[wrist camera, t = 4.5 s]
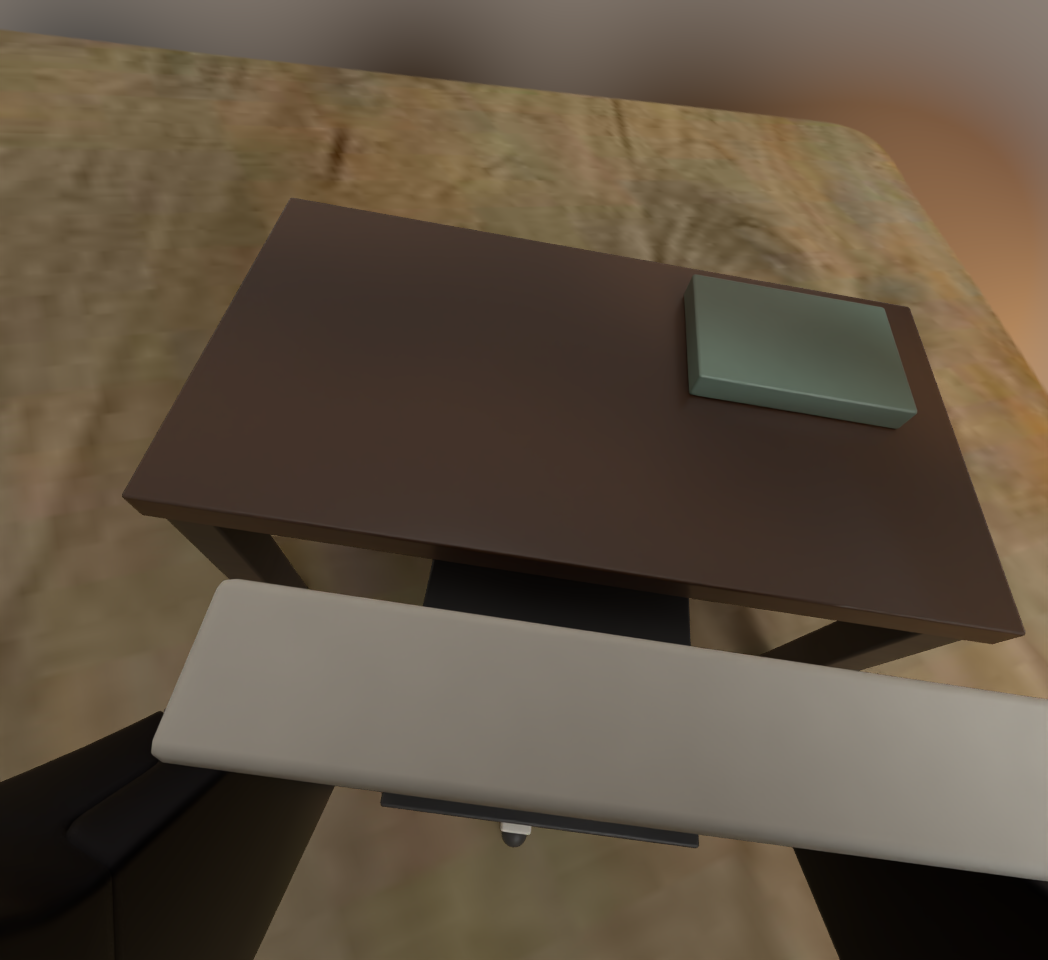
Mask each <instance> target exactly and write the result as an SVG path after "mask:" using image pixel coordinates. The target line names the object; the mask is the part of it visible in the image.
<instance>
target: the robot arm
mask: <svg viewBox="0 0 1048 960" xmlns="http://www.w3.org/2000/svg"><path fill="white" fill-rule="evenodd" d="M165 710H166V709H165ZM165 710H164V712H165ZM163 715H164V713H163V712H162V711H159V712H156V713H154V714H152V715H150V716H148V717H146V718H144V719H142V720H140V721H138V722H136V723H134V724H132V725H130V726H128V727H126V728H123V729H121V730H119V731H117V732H115V733H113V734H111V735H108V736H106V737H104V738H102V739H100V740H98V741H96V742H93V743H91V744H89V745H87V746H85V747H83V748H80V749H78V750H76V751H73V752H71V753H69V754H66V755H64V756H62V757H59V758H57V759H55V760H52V761H50V762H48V763H45V764H43V765H41V766H38V767H36V768H34V769H31V770H29V771H27V772H24V773H22V774H19V775H17V776H14V777H12V778H10V779H7V780H5V781H2V782H0V960H253V959H254V957H255V955H256V953H257V951H258V949H259V947H260V944H261V942H262V940H263V938H264V936H265V934H266V932H267V929H268V927H269V925H270V923H271V921H272V919H273V917H274V915H275V912H276V910H277V908H278V906H279V904H280V902H281V900H282V897H283V895H284V893H285V891H286V889H287V887H288V885H289V882H290V880H291V878H292V876H293V874H294V872H295V870H296V868H297V865H298V863H299V861H300V859H301V857H302V855H303V853H304V850H305V848H306V846H307V844H308V842H309V840H310V838H311V836H312V833H313V831H314V829H315V827H316V825H317V823H318V821H319V818H320V816H321V814H322V812H323V810H324V808H325V806H326V804H327V801H328V799H329V797H330V795H331V793H332V791H333V789H334V785H327V784H319V783H312V782H304V781H297V780H289V779H282V778H274V777H267V776H260V775H252V774H245V773H237V772H230V771H222V770H215V769H207V768H200V767H193V766H185V765H178V764H170V763H163V762H161V761H160V760H159V759H157V758H156V757H155V756H153V755H152V753H151V749H152V741H153V738H154V736H155V733H156V731H157V729H158V726H159V724H160V722H161V719H162V717H163ZM793 849H794V852H795V854H796V856H797V859H798V861H799V863H800V866H801V868H802V871H803V873H804V875H805V878H806V880H807V883H808V885H809V887H810V890H811V892H812V895H813V897H814V899H815V902H816V904H817V906H818V909H819V911H820V914H821V916H822V918H823V921H824V923H825V926H826V928H827V930H828V933H829V935H830V937H831V940H832V942H833V945H834V947H835V949H836V952H837V954H838V957H839V959H840V960H1048V881H1041V880H1033V879H1026V878H1019V877H1011V876H1004V875H996V874H989V873H981V872H974V871H966V870H959V869H952V868H944V867H937V866H929V865H922V864H914V863H907V862H899V861H892V860H885V859H877V858H870V857H862V856H855V855H847V854H840V853H833V852H825V851H818V850H810V849H803V848H795V847H793Z"/></svg>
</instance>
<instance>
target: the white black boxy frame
mask: <svg viewBox="0 0 1048 960" xmlns="http://www.w3.org/2000/svg"><path fill="white" fill-rule="evenodd" d="M151 753H152V755H153V756H155V757H156V758H157V759H159V760H160V761H161V762H163V763H170V764H178V765H185V766H193V767H200V768H207V769H215V770H222V771H230V772H237V773H245V774H252V775H260V776H267V777H274V778H282V779H289V780H297V781H304V782H312V783H319V784H327V785H334V786H341V787H349V788H356V789H364V790H371V791H379V792H383V793H382V797H381V802H380V803H381V806H383V807H391V808H398V809H406V810H413V811H421V812H428V813H436V814H443V815H451V816H458V817H466V818H473V819H481V820H488V821H496V822H501V825H500V829H501V831H502V838H503V840H504V842H505V843H506V844H507V845H508V846H510V847H518V846H520V845H521V844H523V842H524V841H525V839H526V835H529V834H530V833H531V826H533V827H541V828H548V829H556V830H563V831H571V832H578V833H586V834H593V835H601V836H608V837H616V838H623V839H631V840H638V841H646V842H653V843H661V844H668V845H676V846H683V847H691V848H698V846H699V838H698V834H699V835H706V836H713V837H721V838H728V839H736V840H743V841H751V842H758V843H766V844H773V845H780V846H788V847H795V848H803V849H810V850H818V851H825V852H833V853H840V854H847V855H855V856H862V857H870V858H877V859H885V860H892V861H899V862H907V863H914V864H922V865H929V866H937V867H944V868H952V869H959V870H966V871H974V872H981V873H989V874H996V875H1004V876H1011V877H1019V878H1026V879H1033V880H1041V881H1048V699H1042V698H1036V697H1029V696H1022V695H1016V694H1009V693H1002V692H995V691H989V690H982V689H975V688H968V687H962V686H955V685H948V684H942V683H935V682H928V681H921V680H915V679H908V678H901V677H894V676H888V675H881V674H874V673H868V672H861V671H854V670H847V669H841V668H834V667H827V666H821V665H814V664H807V663H800V662H794V661H787V660H780V659H773V658H767V657H760V656H753V655H747V654H740V653H733V652H726V651H720V650H713V649H706V648H699V647H693V646H691V642H690V617H689V598H685V597H679V596H672V595H666V594H659V593H653V592H646V591H639V590H633V589H626V588H620V587H613V586H607V585H600V584H593V583H587V582H580V581H574V580H567V579H560V578H554V577H547V576H541V575H534V574H528V573H521V572H514V571H508V570H501V569H495V568H488V567H482V566H475V565H468V564H462V563H455V562H449V561H442V560H436V559H433V561H432V566H431V571H430V575H429V580H428V584H427V589H426V594H425V598H424V603H423V606H417V605H410V604H404V603H397V602H390V601H383V600H377V599H370V598H363V597H357V596H350V595H343V594H336V593H330V592H323V591H316V590H309V589H303V588H296V587H289V586H283V585H276V584H269V583H262V582H256V581H249V580H242V579H231V580H223V581H222V583H221V584H220V585H219V586H218V587H217V589H216V591H215V594H214V596H213V599H212V601H211V603H210V606H209V608H208V610H207V613H206V615H205V617H204V620H203V622H202V625H201V627H200V629H199V632H198V634H197V636H196V639H195V641H194V644H193V646H192V648H191V651H190V653H189V655H188V658H187V660H186V662H185V665H184V667H183V670H182V672H181V674H180V677H179V679H178V681H177V684H176V686H175V689H174V691H173V693H172V696H171V698H170V700H169V703H168V705H167V707H166V710H165V712H164V715H163V717H162V719H161V722H160V724H159V726H158V729H157V731H156V733H155V736H154V738H153V741H152V749H151Z"/></svg>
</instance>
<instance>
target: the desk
mask: <svg viewBox="0 0 1048 960" xmlns="http://www.w3.org/2000/svg"><path fill="white" fill-rule="evenodd" d="M122 497H123V498H124V499H125V500H126V501H127V502H128V503H129V504H131V505H132V506H133V507H134V508H135V509H136V510H137V511H138V512H139V513H141V514H142V515H146V516H153V517H159V518H166V519H167V520H168V521H169V522H170V523H171V524H172V525H173V526H174V527H175V528H177V529H178V530H179V531H180V532H181V533H182V534H183V535H184V536H185V537H186V538H187V539H188V540H189V541H190V542H191V543H192V544H193V545H194V546H195V547H196V548H197V549H198V550H199V551H200V552H202V553H203V554H204V555H205V556H206V557H207V558H208V559H209V560H210V561H211V562H212V563H213V564H214V565H215V566H216V567H217V568H218V569H219V570H220V571H221V572H222V573H223V574H224V575H225V576H226V577H228V578H229V579H230V580H231V579H242V580H249V581H256V582H262V583H269V584H276V585H283V586H289V587H296V588H303V589H308V588H307V586H306V585H305V583H304V582H303V581H302V579H301V578H300V576H299V575H298V573H297V572H296V571H295V569H294V568H293V566H292V565H291V564H290V562H289V561H288V559H287V558H286V556H285V555H284V554H283V552H282V551H281V549H280V548H279V546H278V545H277V544H276V542H275V541H274V539H273V538H272V537H271V535H278V536H284V537H291V538H297V539H304V540H311V541H317V542H324V543H330V544H337V545H343V546H350V547H357V548H363V549H370V550H376V551H383V552H389V553H396V554H403V555H409V556H416V557H422V558H429V559H436V560H442V561H449V562H455V563H462V564H468V565H475V566H482V567H488V568H495V569H501V570H508V571H514V572H521V573H528V574H534V575H541V576H547V577H554V578H560V579H567V580H574V581H580V582H587V583H593V584H600V585H607V586H613V587H620V588H626V589H633V590H639V591H646V592H653V593H659V594H666V595H672V596H679V597H685V598H692V599H699V600H705V601H712V602H718V603H725V604H732V605H738V606H745V607H751V608H758V609H764V610H771V611H778V612H784V613H791V614H797V615H804V616H810V617H817V618H824V619H830V620H837V621H836V622H833V623H831V624H829V625H827V626H824V627H822V628H820V629H818V630H816V631H813V632H811V633H809V634H807V635H804V636H802V637H800V638H798V639H795V640H793V641H791V642H789V643H786V644H784V645H782V646H780V647H777V648H775V649H773V650H771V651H769V652H766V653H764V654H762V655H760V657H767V658H773V659H780V660H787V661H794V662H800V663H807V664H814V665H821V666H827V667H834V668H841V669H847V670H854V671H860V670H863V669H866V668H870V667H873V666H876V665H880V664H883V663H886V662H890V661H893V660H896V659H900V658H903V657H906V656H910V655H913V654H916V653H920V652H923V651H926V650H930V649H933V648H936V647H940V646H943V645H946V644H950V643H953V642H956V641H960V640H968V641H975V642H981V643H988V644H995V643H999V642H1002V641H1006V640H1009V639H1013V638H1017V637H1020V636H1024V635H1025V630H1024V627H1023V624H1022V621H1021V618H1020V616H1019V613H1018V610H1017V607H1016V604H1015V602H1014V599H1013V596H1012V593H1011V590H1010V588H1009V585H1008V582H1007V579H1006V576H1005V574H1004V571H1003V568H1002V565H1001V562H1000V560H999V557H998V554H997V551H996V548H995V546H994V543H993V540H992V537H991V534H990V532H989V529H988V526H987V523H986V520H985V518H984V515H983V512H982V509H981V506H980V504H979V501H978V498H977V495H976V492H975V490H974V487H973V484H972V481H971V479H970V476H969V473H968V470H967V467H966V465H965V462H964V459H963V456H962V453H961V451H960V448H959V445H958V442H957V439H956V437H955V434H954V431H953V428H952V425H951V423H950V420H949V417H948V414H947V411H946V409H945V406H944V403H943V400H942V397H941V395H940V392H939V389H938V386H937V383H936V381H935V378H934V375H933V372H932V369H931V367H930V364H929V361H928V358H927V355H926V353H925V350H924V347H923V344H922V341H921V339H920V336H919V333H918V330H917V327H916V325H915V322H914V319H913V316H912V313H911V311H910V308H909V307H905V306H899V305H894V304H888V303H882V302H877V301H871V300H865V299H860V298H854V297H848V296H843V295H837V294H832V293H826V292H820V291H815V290H809V289H803V288H798V287H792V286H787V285H781V284H775V283H770V282H764V281H758V280H753V279H747V278H741V277H736V276H730V275H725V274H719V273H713V272H708V271H702V270H696V269H691V268H685V267H679V266H674V265H668V264H663V263H657V262H651V261H646V260H640V259H634V258H629V257H623V256H618V255H612V254H606V253H601V252H595V251H589V250H584V249H578V248H572V247H567V246H561V245H556V244H550V243H544V242H539V241H533V240H527V239H522V238H516V237H510V236H505V235H499V234H494V233H488V232H482V231H477V230H471V229H465V228H460V227H454V226H448V225H443V224H437V223H432V222H426V221H420V220H415V219H409V218H403V217H398V216H392V215H387V214H381V213H375V212H370V211H364V210H358V209H353V208H347V207H341V206H336V205H330V204H325V203H319V202H313V201H308V200H302V199H296V198H290V200H289V201H288V203H287V205H286V207H285V208H284V210H283V212H282V214H281V215H280V217H279V219H278V221H277V222H276V224H275V226H274V228H273V229H272V231H271V233H270V235H269V237H268V238H267V240H266V242H265V244H264V245H263V247H262V249H261V251H260V252H259V254H258V256H257V258H256V259H255V261H254V263H253V265H252V266H251V268H250V270H249V272H248V274H247V275H246V277H245V279H244V281H243V282H242V284H241V286H240V288H239V289H238V291H237V293H236V295H235V296H234V298H233V300H232V302H231V303H230V305H229V307H228V309H227V310H226V312H225V314H224V316H223V318H222V319H221V321H220V323H219V325H218V326H217V328H216V330H215V332H214V333H213V335H212V337H211V339H210V340H209V342H208V344H207V346H206V347H205V349H204V351H203V353H202V355H201V356H200V358H199V360H198V362H197V363H196V365H195V367H194V369H193V370H192V372H191V374H190V376H189V377H188V379H187V381H186V383H185V384H184V386H183V388H182V390H181V392H180V393H179V395H178V397H177V399H176V400H175V402H174V404H173V406H172V407H171V409H170V411H169V413H168V414H167V416H166V418H165V420H164V421H163V423H162V425H161V427H160V429H159V430H158V432H157V434H156V436H155V437H154V439H153V441H152V443H151V444H150V446H149V448H148V450H147V451H146V453H145V455H144V457H143V458H142V460H141V462H140V464H139V465H138V467H137V469H136V471H135V473H134V474H133V476H132V478H131V480H130V481H129V483H128V485H127V487H126V488H125V490H124V492H123V494H122ZM270 534H271V535H270Z"/></svg>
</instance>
